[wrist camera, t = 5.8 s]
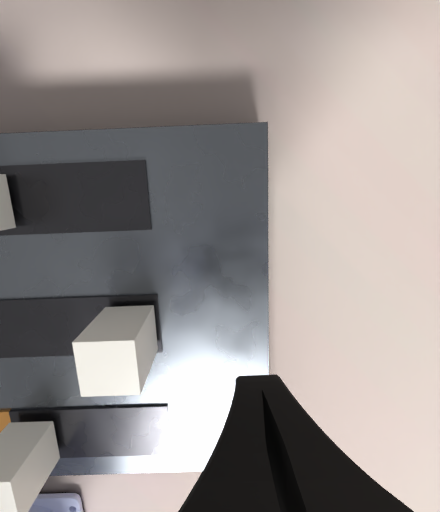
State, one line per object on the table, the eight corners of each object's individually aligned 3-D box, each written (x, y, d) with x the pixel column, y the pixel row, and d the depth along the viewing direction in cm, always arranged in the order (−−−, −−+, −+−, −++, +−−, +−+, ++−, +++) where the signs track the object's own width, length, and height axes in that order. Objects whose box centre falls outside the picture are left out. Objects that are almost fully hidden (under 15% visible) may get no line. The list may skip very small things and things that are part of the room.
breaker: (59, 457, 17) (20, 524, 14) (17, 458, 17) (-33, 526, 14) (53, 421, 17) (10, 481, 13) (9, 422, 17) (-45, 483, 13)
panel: (262, 430, 21) (269, 471, 18) (-15, 439, 21) (-54, 481, 18) (259, 132, 17) (268, 121, 14) (-90, 147, 17) (-156, 139, 14)
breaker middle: (157, 349, 16) (140, 394, 12) (111, 350, 16) (81, 396, 12) (153, 305, 15) (134, 340, 12) (105, 306, 15) (72, 342, 12)
